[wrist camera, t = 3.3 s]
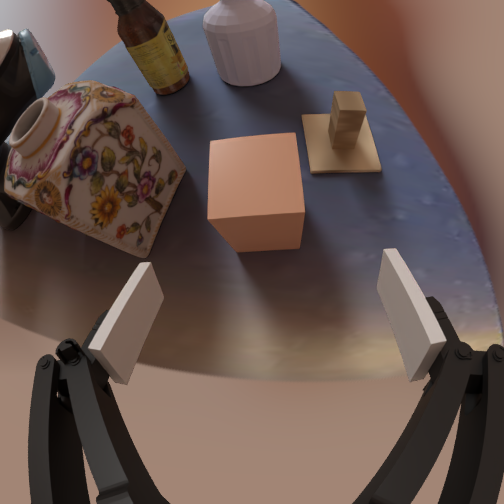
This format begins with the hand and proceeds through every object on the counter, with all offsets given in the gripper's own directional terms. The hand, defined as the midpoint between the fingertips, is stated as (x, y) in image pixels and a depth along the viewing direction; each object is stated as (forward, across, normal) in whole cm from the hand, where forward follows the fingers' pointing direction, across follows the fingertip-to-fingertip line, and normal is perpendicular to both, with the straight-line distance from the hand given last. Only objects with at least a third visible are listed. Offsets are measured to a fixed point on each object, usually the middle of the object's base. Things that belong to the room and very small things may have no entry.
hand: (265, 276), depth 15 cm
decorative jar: (+16, -17, 0) cm, 23 cm away
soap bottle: (+30, -2, +14) cm, 33 cm away
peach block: (+13, -1, -3) cm, 13 cm away
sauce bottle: (+30, -14, +14) cm, 36 cm away
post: (+19, +8, +4) cm, 21 cm away
